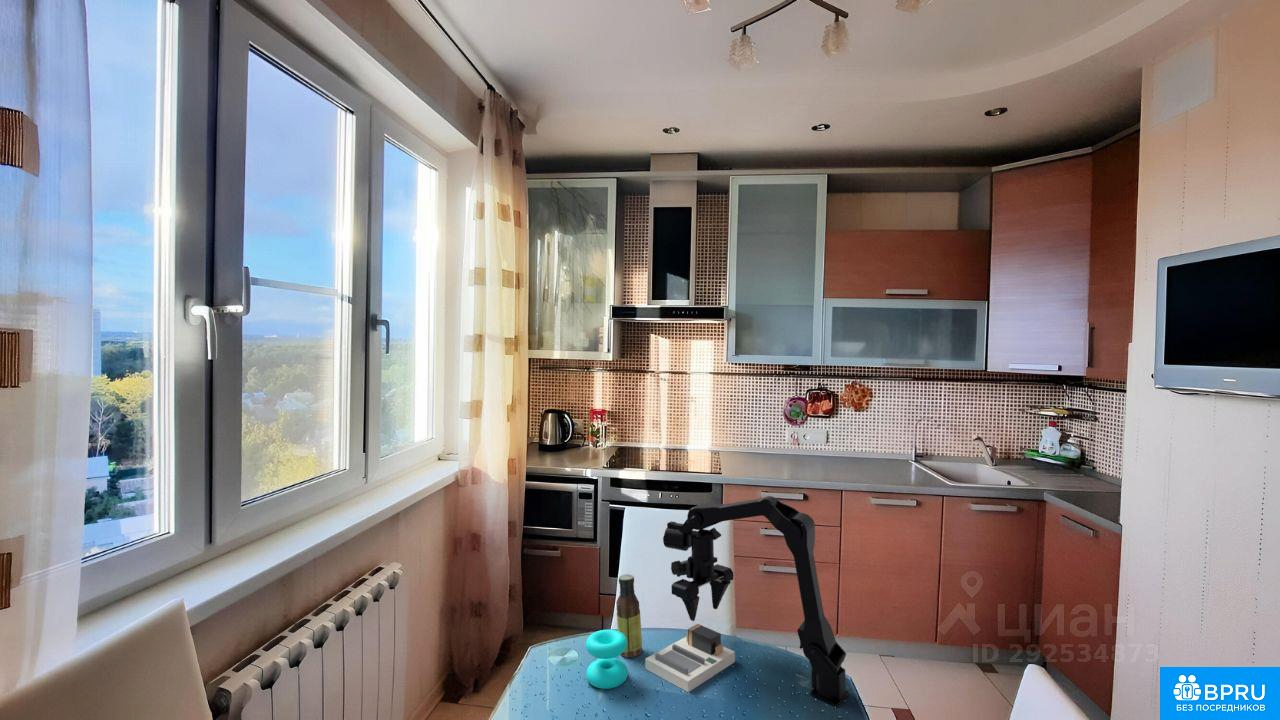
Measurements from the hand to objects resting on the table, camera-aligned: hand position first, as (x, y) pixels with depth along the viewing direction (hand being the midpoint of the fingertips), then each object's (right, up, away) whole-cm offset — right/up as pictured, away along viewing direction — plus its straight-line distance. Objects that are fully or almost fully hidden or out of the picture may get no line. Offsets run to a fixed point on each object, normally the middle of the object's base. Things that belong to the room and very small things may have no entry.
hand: (704, 614), depth 138 cm
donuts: (-24, -11, -9) cm, 28 cm away
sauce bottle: (-19, -12, +3) cm, 23 cm away
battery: (0, -8, 0) cm, 8 cm away
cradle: (-4, -11, -4) cm, 12 cm away
